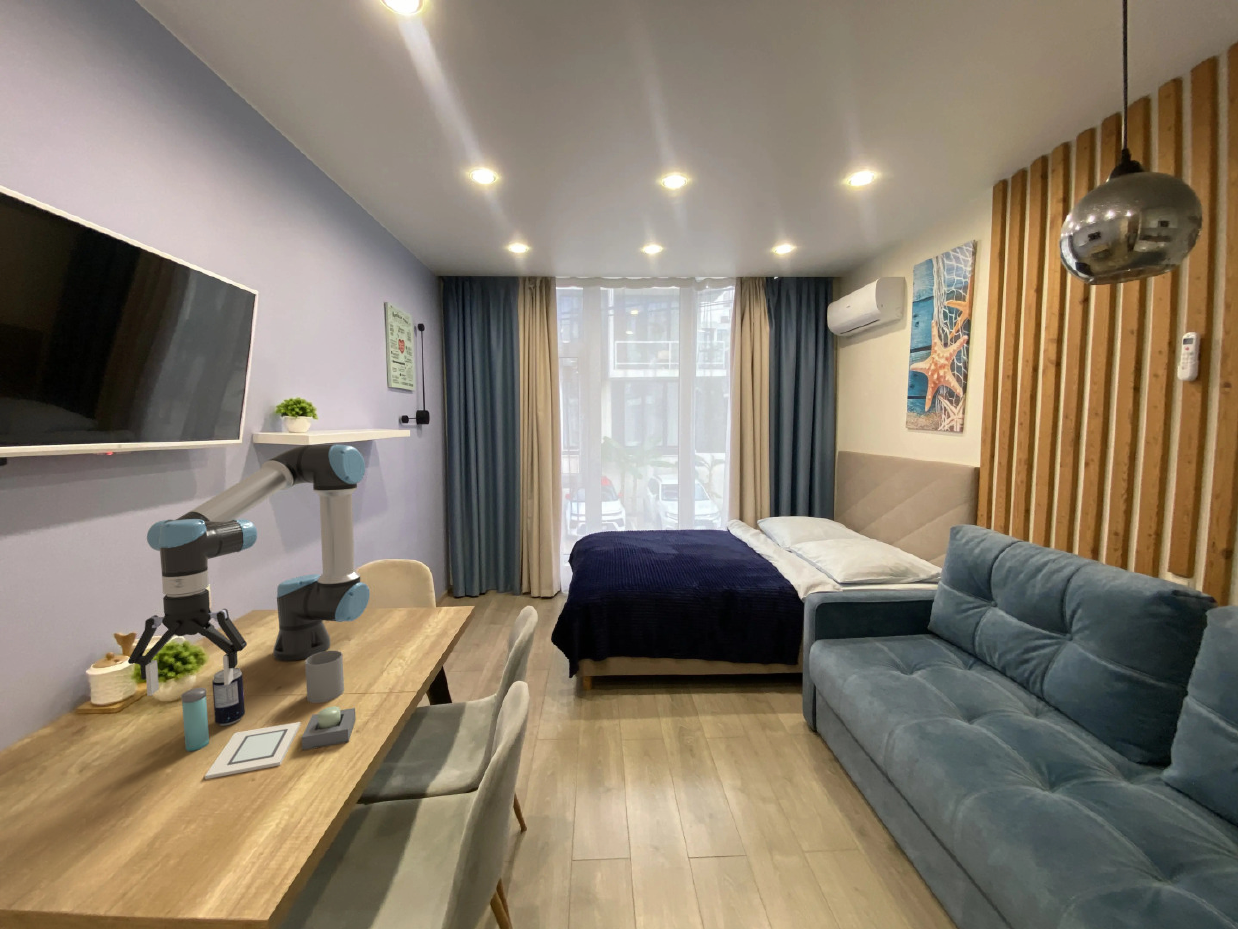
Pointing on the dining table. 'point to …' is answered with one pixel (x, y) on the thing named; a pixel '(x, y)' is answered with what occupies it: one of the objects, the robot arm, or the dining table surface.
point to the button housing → (328, 731)
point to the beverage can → (228, 698)
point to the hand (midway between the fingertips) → (191, 687)
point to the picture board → (254, 750)
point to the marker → (195, 719)
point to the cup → (324, 676)
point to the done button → (329, 717)
